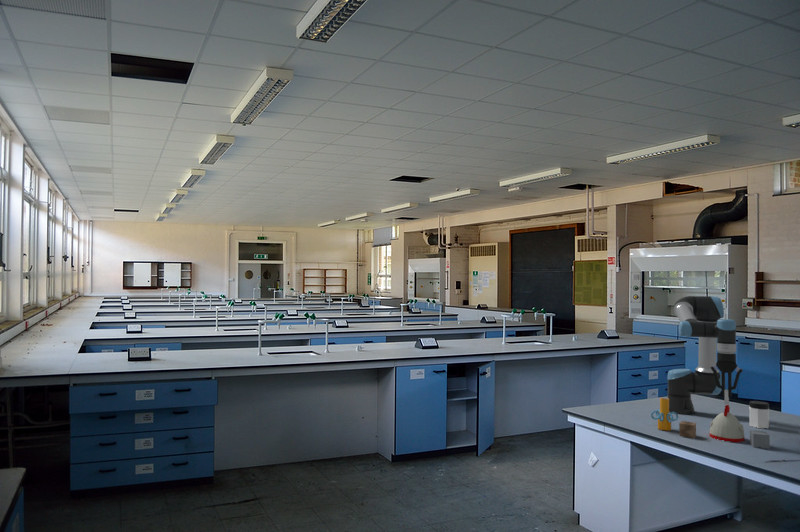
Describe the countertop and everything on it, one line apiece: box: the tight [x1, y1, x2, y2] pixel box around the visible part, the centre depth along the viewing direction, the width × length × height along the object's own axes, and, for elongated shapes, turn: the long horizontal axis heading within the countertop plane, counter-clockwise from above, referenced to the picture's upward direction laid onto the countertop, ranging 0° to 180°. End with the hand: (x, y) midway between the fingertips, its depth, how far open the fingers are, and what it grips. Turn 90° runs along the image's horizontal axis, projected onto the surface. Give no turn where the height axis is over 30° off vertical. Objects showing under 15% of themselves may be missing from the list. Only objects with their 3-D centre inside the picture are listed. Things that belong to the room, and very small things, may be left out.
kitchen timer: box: [709, 404, 745, 443], centre depth 253 cm, size 14×14×15 cm
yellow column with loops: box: [650, 397, 679, 432], centre depth 266 cm, size 12×10×15 cm
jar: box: [748, 400, 770, 429], centre depth 274 cm, size 9×8×12 cm
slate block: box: [749, 429, 771, 450], centre depth 240 cm, size 6×6×6 cm
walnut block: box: [678, 420, 697, 439], centre depth 255 cm, size 6×6×6 cm
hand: (726, 403), depth 253 cm, fingers closed
